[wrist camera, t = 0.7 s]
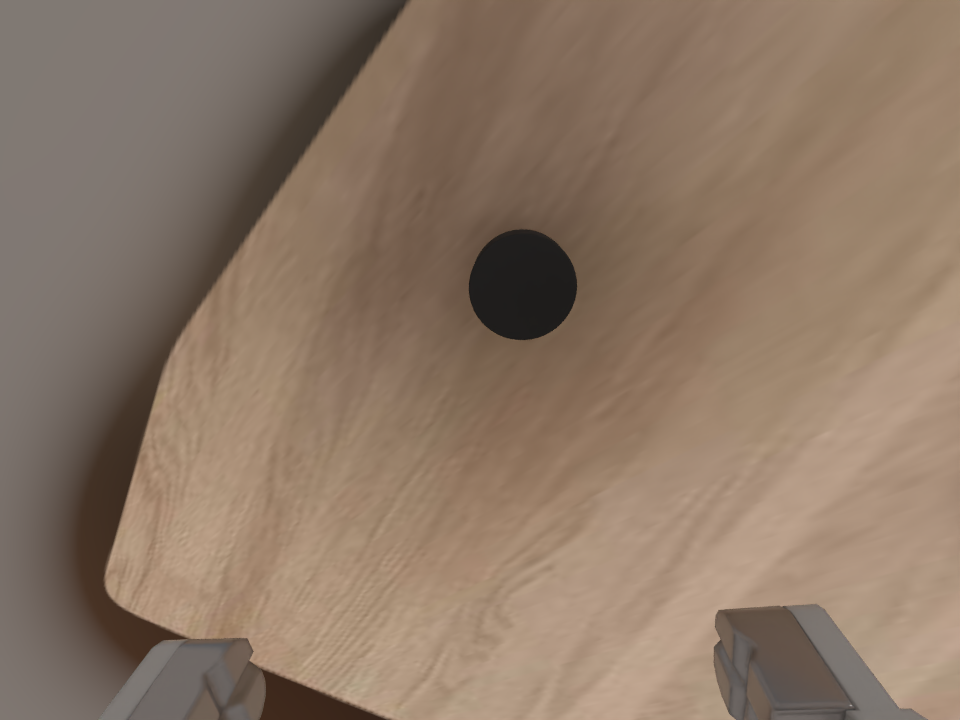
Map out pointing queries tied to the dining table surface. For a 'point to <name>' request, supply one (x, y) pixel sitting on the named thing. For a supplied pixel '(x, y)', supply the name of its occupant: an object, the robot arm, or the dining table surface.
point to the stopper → (522, 285)
